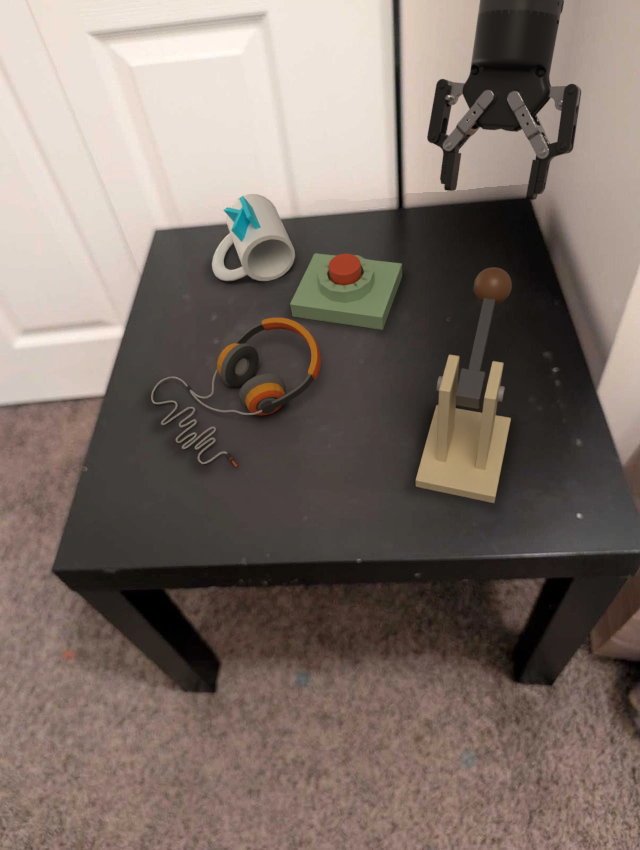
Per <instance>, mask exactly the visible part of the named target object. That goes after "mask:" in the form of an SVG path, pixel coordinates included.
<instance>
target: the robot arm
mask: <svg viewBox="0 0 640 850" xmlns="http://www.w3.org/2000/svg"><path fill="white" fill-rule="evenodd" d="M564 3H565V0H479V5H478V12H477V17H476V27H475V33H474V41H473V47H472V54H471V62H470V72H469V75H468V77H467V79H466V81H465V82H457V81H456V82H455V81H452V80H448V79H445V78H440V79H438V81H437V82H436V85H435V90H434V96H433V101H432V108H431V114H430V119H429V124H428V128H427V129H428V131H427V136H426V139H427V141H428V143H430V144H433V145H434V146H437V147H439V148H440V149H441V150H442V159H441V160H442V161H441V169H440V176H439V180H440V184H441V185H444V186H443V188H444V189H443V190H444V191H448V192H452V191H453V192H454V191H456V190H457V187H458V181H459V173H460V166H461V161H462V160H461V159H462V152H460V150H461V148H462V147H463V146H464V145H465V144H466V143H467V141H469V139H470V138H471V137H472V136H474V135H475V134H476V133H477V132H478V130H480V129H481V130H485V131H497V130H503V131H505V132H516V133H517V132H519V131H523V133H524V135H525V137H526V139H527V140H528V141H529V144H530V146H531V147H532V149H533V151H534V153H535V159H532V162H531V167H530V172H529V177H528V184H527V189H526V194H525V200H530V201H535V200H536V199H537V198H538V195H542V194H543V193H544V191H545V189H546V186H547V180H548V175H549V171H550V165H551V162H552V160H554V158H556V157H558V156H562V155H567V154H570V153H571V152H572V151H573V150H574V145H575V139H576V131H577V124H578V118H579V111H580V105H581V97H582V89H581V87H579V86H578V85H577V84H575V83H570V84H567V85H562V86H561V85H560V86H559V85H558V86H552V85H551V81H550V74H551V70H552V69H551V68H552V63H553V58H554V52H555V46H556V41H557V36H558V30H559V25H560V21H561V20H560V19H561V15H562V13H563V9H564ZM462 95H463V98H464V100H465V101H464V102H465V103H466V104H467V107H468V110H467V112H466V113H465V114H464V115H463V116H462V118H461V119H460V120H459V121H458V122H457V124H456V126H455V128H454V129H453V130H452V131H451V132H450V134H447V132H448V127H449V121H450V117H451V111H452V107H453V106H454V105H456V104H457V103H458V101H459V99H460V97H462ZM551 99H552V100H553V101H554V108H555V109H556V110H558V111H560V118H559V126H558V133H557V141H555V142H552V143H551V142H550V141H549V138H548V136H547V134H546V131H545V129H544V127H543V125H542V123H541V120H540V118H539V117H538V114H539V113H540V112H541V110H542V109H543V108H544V107H545V106H546V104H547V103H548V102H549V101H550V100H551Z"/></svg>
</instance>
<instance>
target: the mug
mask: <svg viewBox="0 0 640 850" xmlns="http://www.w3.org/2000/svg"><path fill="white" fill-rule="evenodd" d="M223 212H224V213H225V214H226V215H227V216H226V225H227V228H228V232H229V233H228V234H227V235H226V236H225V237H224V238H223V239H222V240H221V242H220V243H219V244H218V246H217V247H216V249H215V252H214V254H213V256H212V260H211V269H212V272H213V274H214V276H215V277H216V278H217V279H219V280H220V281H223V282H234V281H237V280H240V279H242V278H244V277H246V276H248V277H249V278H251V279H252V280H256V281H260V282H269V281H273V280H277V279H279V278H280V277H282V276H284V275H285V274H286V273H287V272H288V271H290V269H291V267H292V266H293V265H294V263H295V259H296V253H295V248H294V245H293V243H292V241H291V239H290V236H289V234H288V232H287V230H286V227H285V225H284V224H283V221H282V219H281V217H280V215H279V212H278V210H277V207H276V206H275V204H274V203H273V202H272V201H271V200H270V199H268V198H267V197H266V196H265V195H261V194H257V193H249V194H245V195H242V196H240V197H238V198H237V199H236V200H234V201H233V203H232V204H231V205H230V207H229V206H227V207H226V208H224V209H223ZM233 245H234V248H235V250H236V253H237V256H238V259H239V261H240V265H241V266H240V267H237V268H235V269H229V268H227V267H226V265H225V257H226V254H227V252H228V251H229V249H231V247H232V246H233Z"/></svg>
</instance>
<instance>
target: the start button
mask: <svg viewBox="0 0 640 850" xmlns="http://www.w3.org/2000/svg"><path fill="white" fill-rule="evenodd" d="M355 255H356V254H352V253H341V254H337V255H334V256H335V257H334V258H332V259H331V261H330V262H329V274H330V279H331V280H332V281H333V282H334V283H335V284H338V285H349V284H353V283H355V282H357V281H358V280H359V279H360V277H361V274H362V273H361V262H360V260H359V258H358V257H356V256H355Z"/></svg>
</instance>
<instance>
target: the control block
mask: <svg viewBox="0 0 640 850" xmlns="http://www.w3.org/2000/svg"><path fill="white" fill-rule="evenodd" d="M354 255H355V256H356V257H358V258H359V260H360V262H361V273H362V274H361V277H360V279H359V280H358V281H357V282H355V283H353V284H349V285H338V284H335V283H334V282H333V281H332V280H331V279H330V274H329V262H330V261H331V259H332V258H334V257H335V256H336V255H334V254H333V255H332V254H325V253H316V252H315V253H314V254H313V255H312V258H311V259H310V262H309V263H308V266H307V267H306V270H305V272H304V274H303V276H302V279H301V280H300V282H299V285H298V287H297V288H296V291H295V292H294V295H293V297H292V299H291V301H290V303H289V306H290V312H291V316H292V317H293V318H298V319H307V320H312V321H313V320H314V321H320V322H327V323H334V324H340V325H347V326H354V327H360V328H366V329H374V330H381V331H384V328H385V325H386V323H387V320H388V317H389V314H390V312H391V308H392V306H393V304H394V302H395V301H394V300H395V298H396V295H397V292H398V290H399V287H400V285H401V282H402V278H403V263H400V262H392V261H384V260H374V259H367V258H365V257H363V256H362V255H357V254H354Z"/></svg>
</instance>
